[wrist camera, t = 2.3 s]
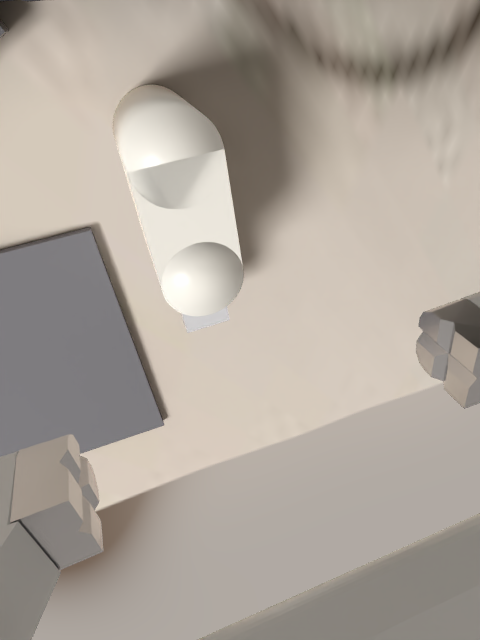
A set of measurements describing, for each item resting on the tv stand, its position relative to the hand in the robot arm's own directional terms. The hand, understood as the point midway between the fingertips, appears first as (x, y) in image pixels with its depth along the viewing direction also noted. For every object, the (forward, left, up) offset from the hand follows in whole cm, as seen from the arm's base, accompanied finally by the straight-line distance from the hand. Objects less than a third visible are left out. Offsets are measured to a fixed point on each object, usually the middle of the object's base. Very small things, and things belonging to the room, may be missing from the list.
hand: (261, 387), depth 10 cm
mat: (+10, +8, -14) cm, 19 cm away
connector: (0, +1, -14) cm, 14 cm away
